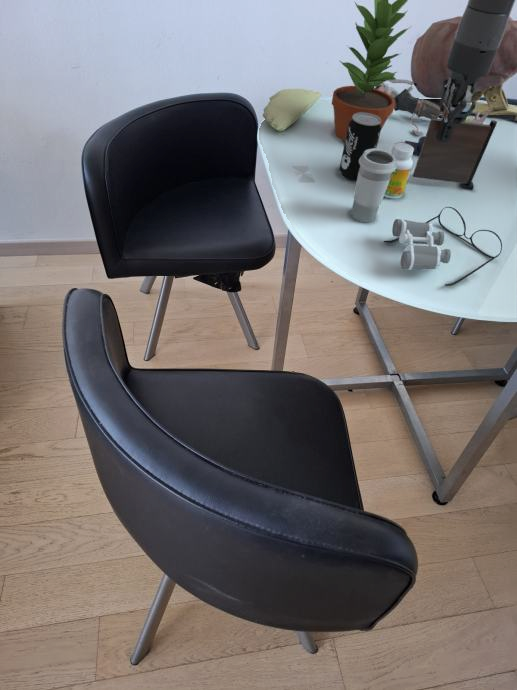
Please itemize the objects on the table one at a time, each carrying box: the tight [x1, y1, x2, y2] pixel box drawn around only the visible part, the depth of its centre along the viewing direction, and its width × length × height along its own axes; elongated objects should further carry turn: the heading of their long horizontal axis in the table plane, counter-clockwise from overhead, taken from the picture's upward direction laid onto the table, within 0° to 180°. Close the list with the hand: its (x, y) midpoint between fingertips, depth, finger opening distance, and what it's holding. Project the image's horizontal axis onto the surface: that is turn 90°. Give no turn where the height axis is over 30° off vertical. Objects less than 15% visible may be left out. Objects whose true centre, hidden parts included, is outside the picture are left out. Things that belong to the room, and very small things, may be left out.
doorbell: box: [404, 135, 426, 156], centre depth 116 cm, size 12×6×2 cm, turn 78°
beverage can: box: [339, 112, 382, 182], centre depth 101 cm, size 7×7×12 cm
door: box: [412, 118, 491, 184], centre depth 100 cm, size 1×12×12 cm, turn 85°
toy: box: [374, 78, 491, 136], centre depth 126 cm, size 9×16×30 cm
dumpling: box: [262, 88, 322, 132], centre depth 123 cm, size 26×4×10 cm
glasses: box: [383, 206, 503, 287], centre depth 87 cm, size 14×15×5 cm
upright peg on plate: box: [460, 119, 498, 191], centre depth 101 cm, size 2×2×14 cm
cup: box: [350, 148, 396, 223], centre depth 90 cm, size 7×7×12 cm
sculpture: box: [410, 15, 517, 99], centre depth 132 cm, size 19×28×30 cm
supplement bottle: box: [383, 142, 414, 200], centre depth 98 cm, size 5×5×10 cm
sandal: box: [469, 83, 517, 123], centre depth 134 cm, size 13×23×8 cm, turn 52°
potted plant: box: [331, 0, 413, 142], centre depth 108 cm, size 15×15×30 cm
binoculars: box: [391, 218, 452, 271], centre depth 83 cm, size 12×8×4 cm, turn 179°
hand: (441, 140), depth 96 cm, fingers closed
